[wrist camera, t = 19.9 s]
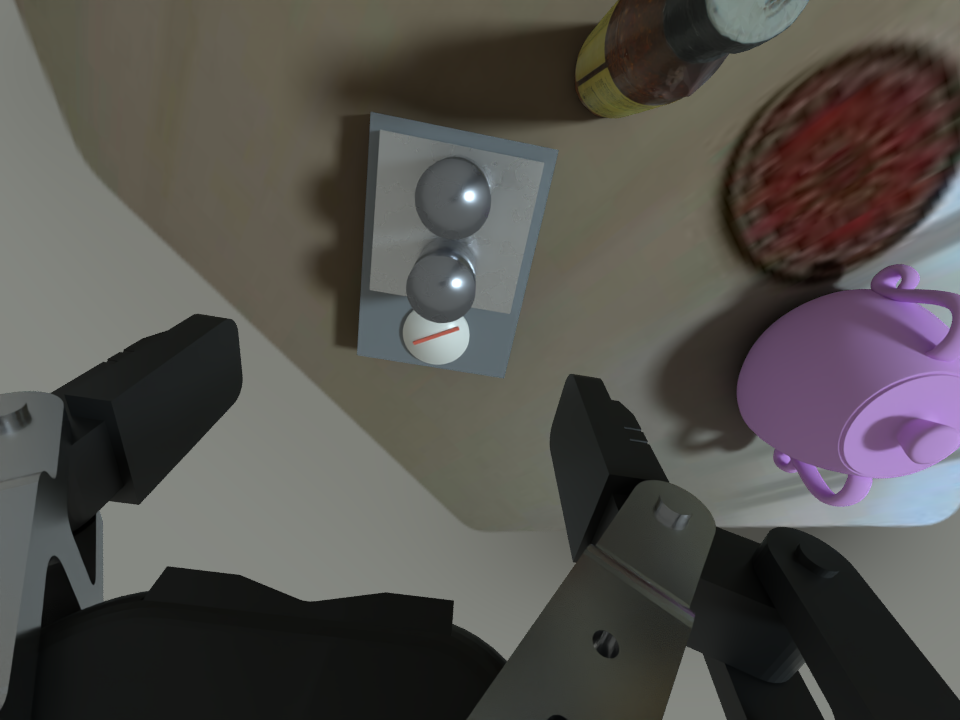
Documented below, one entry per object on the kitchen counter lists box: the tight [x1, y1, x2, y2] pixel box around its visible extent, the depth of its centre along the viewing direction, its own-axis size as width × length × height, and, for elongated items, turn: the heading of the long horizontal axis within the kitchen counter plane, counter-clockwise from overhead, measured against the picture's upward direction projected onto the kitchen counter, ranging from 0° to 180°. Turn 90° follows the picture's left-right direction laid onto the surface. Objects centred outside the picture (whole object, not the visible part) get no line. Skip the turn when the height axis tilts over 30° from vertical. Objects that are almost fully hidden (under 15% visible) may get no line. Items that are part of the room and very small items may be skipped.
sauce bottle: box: [575, 0, 809, 118], centre depth 24 cm, size 6×6×20 cm
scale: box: [357, 112, 559, 378], centre depth 37 cm, size 14×20×4 cm
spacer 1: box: [415, 155, 491, 240], centre depth 30 cm, size 5×5×6 cm
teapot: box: [737, 264, 960, 506], centre depth 38 cm, size 22×22×14 cm
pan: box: [370, 130, 544, 314], centre depth 34 cm, size 12×12×1 cm
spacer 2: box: [406, 238, 476, 323], centre depth 32 cm, size 5×5×6 cm
